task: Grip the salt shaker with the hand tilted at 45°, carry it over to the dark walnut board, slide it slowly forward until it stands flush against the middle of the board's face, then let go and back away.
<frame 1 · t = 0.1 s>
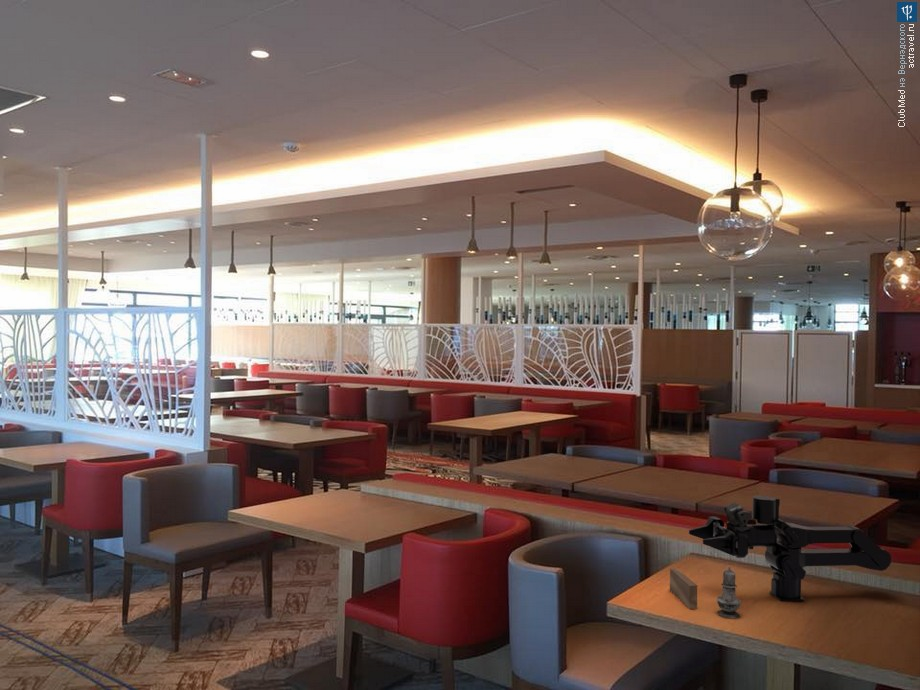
hand: (695, 536, 205), 17 cm above the table, tool horizontal, fingers open, 9 cm apart
walnut board: (682, 599, 205), on the table
salt shaker: (728, 615, 195), on the table
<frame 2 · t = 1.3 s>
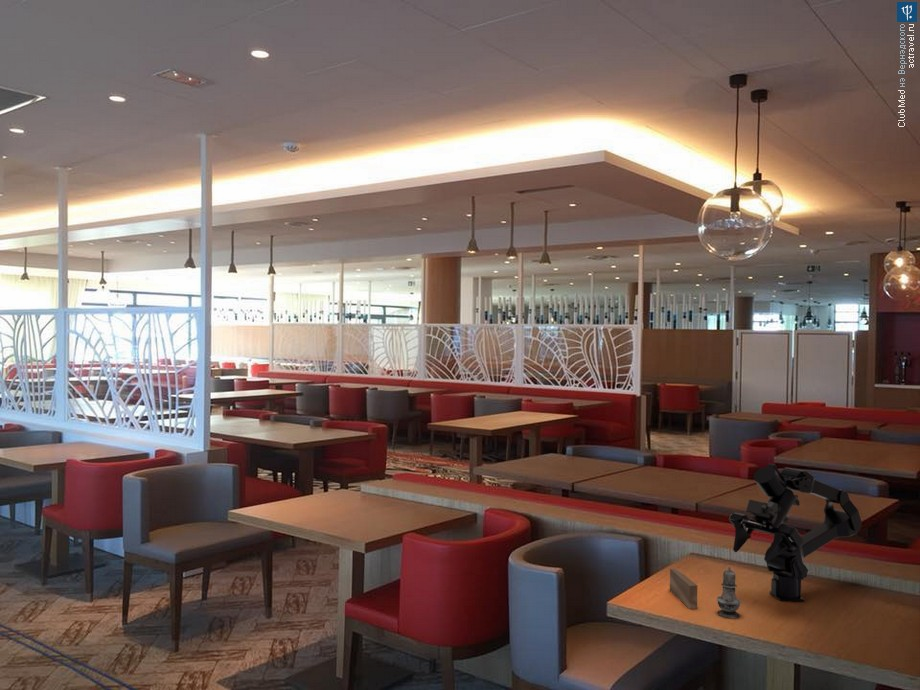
hand: (749, 555, 199), 13 cm above the table, tool tilted 45°, fingers open, 9 cm apart
nothing on the table moved.
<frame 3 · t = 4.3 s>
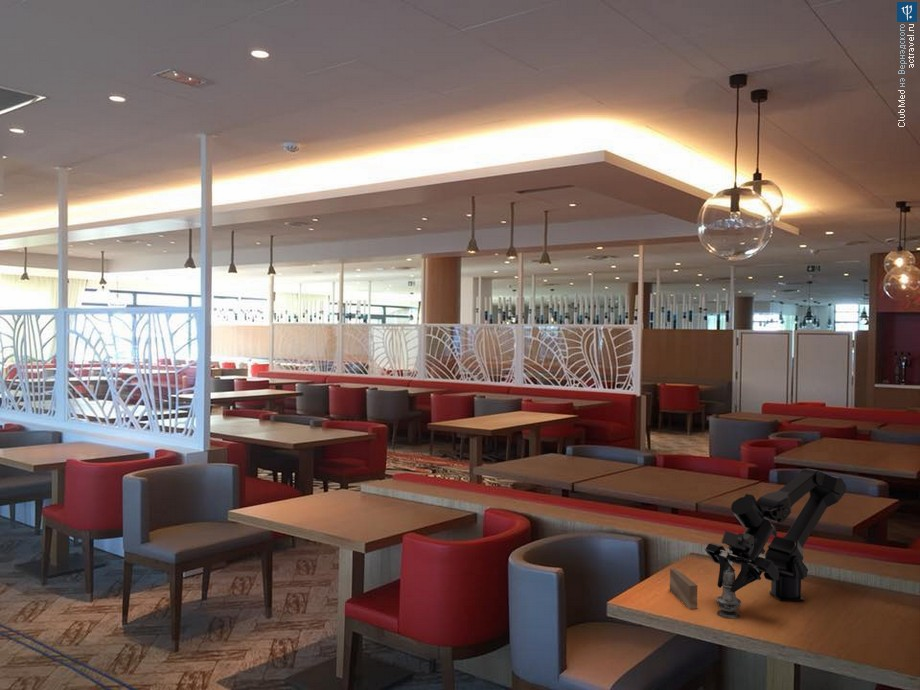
hand: (725, 589, 194), 7 cm above the table, tool tilted 45°, fingers closed on salt shaker, 4 cm apart
salt shaker: (728, 615, 195), on the table, touching gripper
when the fingers open (7 cm above the table, at t = 8.0 s): salt shaker stays where it is, on the table.
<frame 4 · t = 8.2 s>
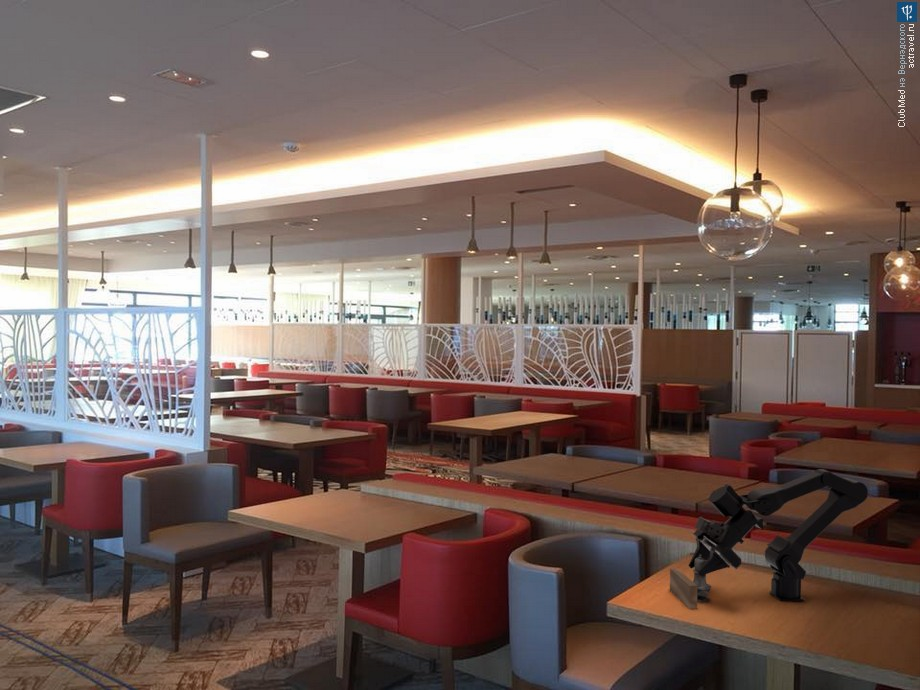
hand: (694, 570, 205), 8 cm above the table, tool tilted 45°, fingers open, 6 cm apart
salt shaker: (699, 599, 205), on the table
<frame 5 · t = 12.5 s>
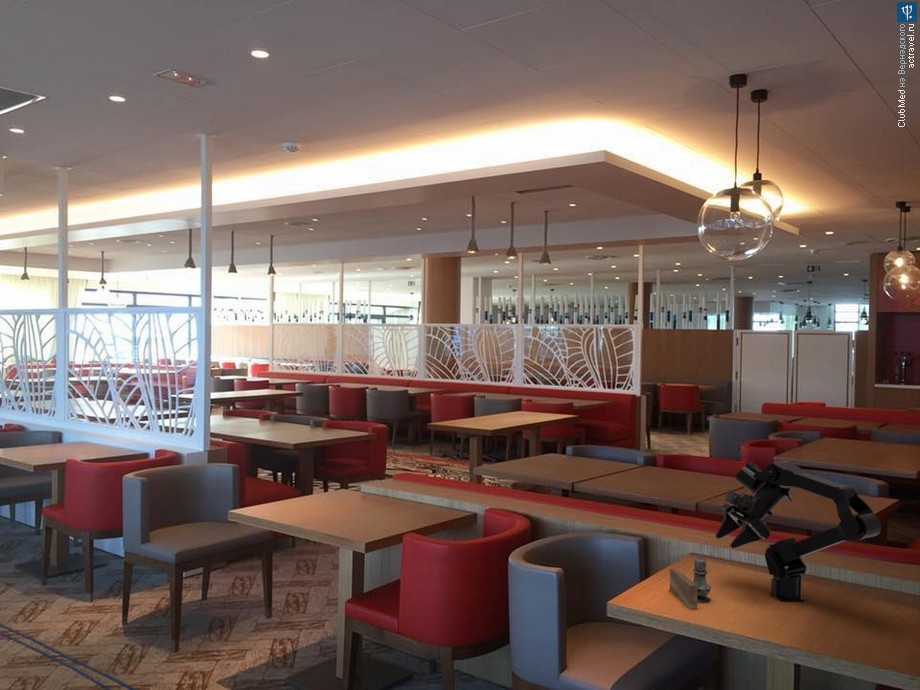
hand: (723, 542, 211), 14 cm above the table, tool tilted 45°, fingers open, 9 cm apart
nothing on the table moved.
at the end: salt shaker 0.1 cm from the target spot on the table beside the walnut board, on the table; salt shaker tilted 0°; the gripper is holding nothing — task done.
